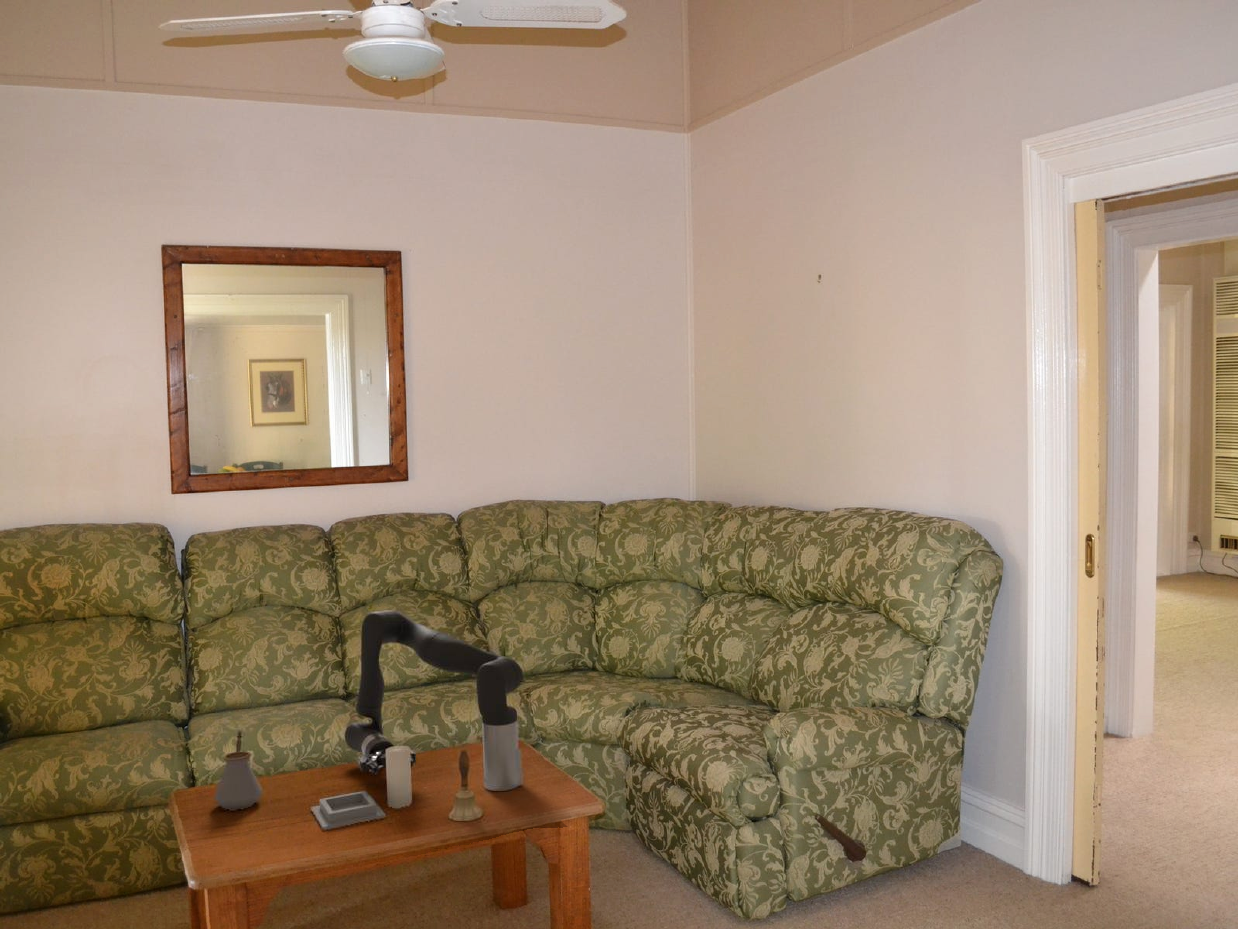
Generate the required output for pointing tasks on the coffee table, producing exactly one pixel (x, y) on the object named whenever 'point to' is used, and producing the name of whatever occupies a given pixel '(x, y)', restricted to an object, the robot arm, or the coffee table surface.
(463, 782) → the hand bell
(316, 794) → the coffee table surface
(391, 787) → the candle
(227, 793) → the coffee pot
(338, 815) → the candle dish
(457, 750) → the coffee table surface
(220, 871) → the coffee table surface
